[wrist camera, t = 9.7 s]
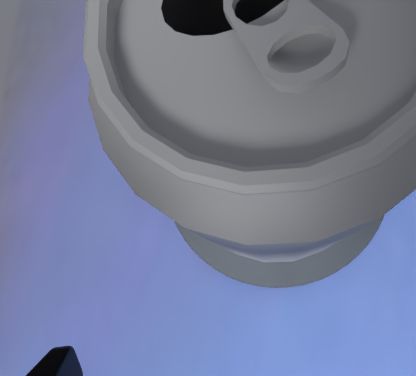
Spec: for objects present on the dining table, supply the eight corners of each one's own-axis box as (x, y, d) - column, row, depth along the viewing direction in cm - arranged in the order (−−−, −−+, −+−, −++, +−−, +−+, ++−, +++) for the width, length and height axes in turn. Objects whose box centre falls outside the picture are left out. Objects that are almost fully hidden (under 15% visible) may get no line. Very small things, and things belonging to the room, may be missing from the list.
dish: (430, 157, 18) (440, 150, 16) (295, 335, 17) (295, 339, 16) (254, 48, 20) (253, 36, 19) (132, 198, 20) (124, 194, 19)
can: (301, 72, 18) (339, -269, 7) (397, 208, 16) (685, 44, 5) (165, 153, 19) (-19, -44, 7) (242, 295, 17) (160, 341, 5)
